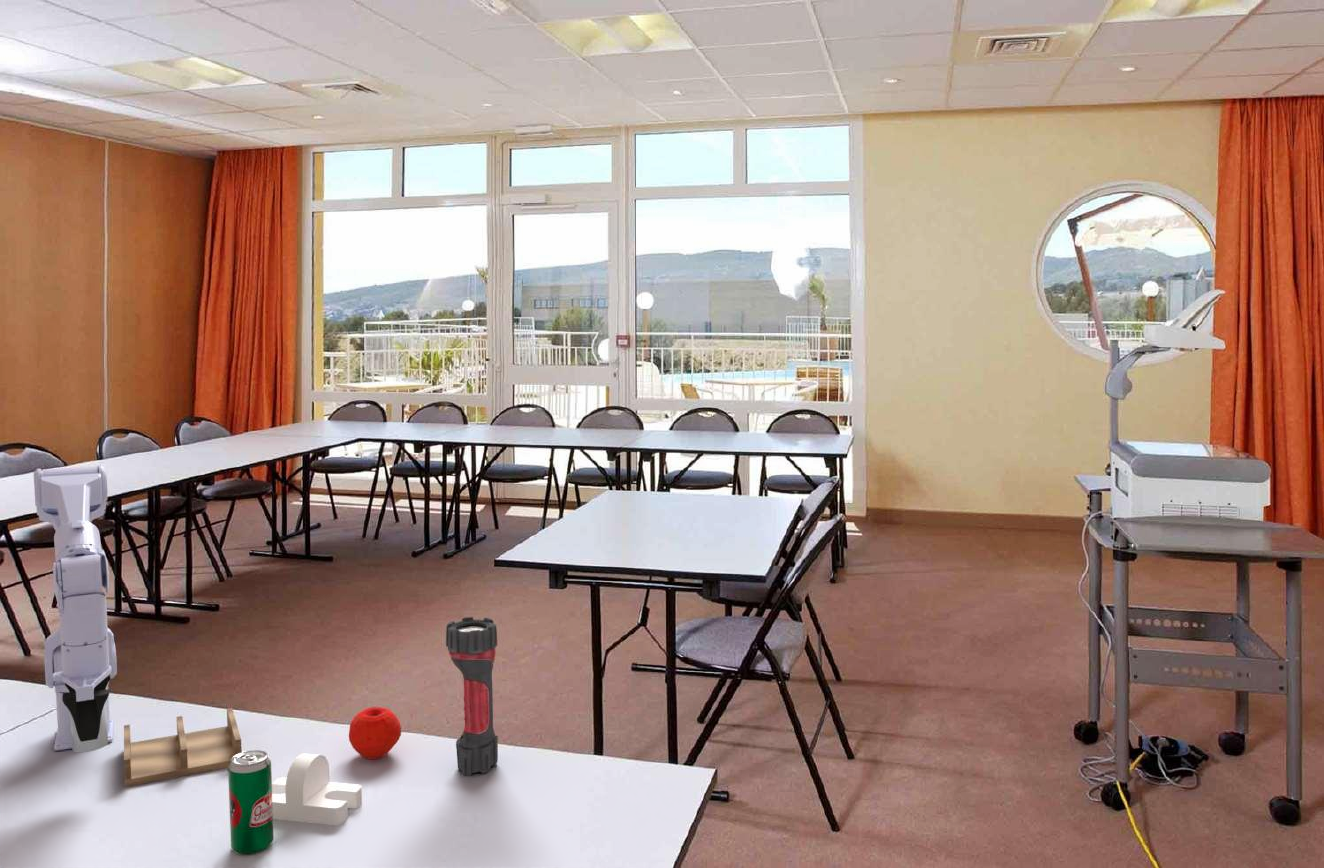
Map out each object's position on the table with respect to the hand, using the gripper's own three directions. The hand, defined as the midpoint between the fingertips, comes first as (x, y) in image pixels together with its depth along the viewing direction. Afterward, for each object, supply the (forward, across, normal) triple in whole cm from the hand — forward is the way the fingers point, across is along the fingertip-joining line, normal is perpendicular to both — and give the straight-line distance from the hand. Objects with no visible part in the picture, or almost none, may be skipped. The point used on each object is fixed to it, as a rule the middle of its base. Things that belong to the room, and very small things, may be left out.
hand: (89, 732), depth 137 cm
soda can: (+9, +26, +18) cm, 33 cm away
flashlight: (+9, +18, +50) cm, 54 cm away
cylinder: (+2, 0, 0) cm, 2 cm away
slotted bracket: (+9, +19, +26) cm, 34 cm away
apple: (+9, +6, +38) cm, 40 cm away
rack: (+9, -7, +12) cm, 16 cm away
